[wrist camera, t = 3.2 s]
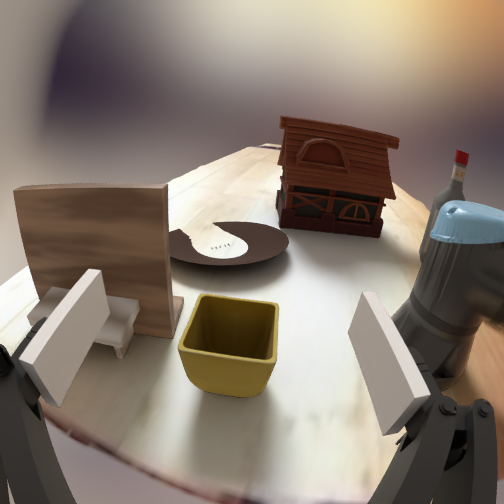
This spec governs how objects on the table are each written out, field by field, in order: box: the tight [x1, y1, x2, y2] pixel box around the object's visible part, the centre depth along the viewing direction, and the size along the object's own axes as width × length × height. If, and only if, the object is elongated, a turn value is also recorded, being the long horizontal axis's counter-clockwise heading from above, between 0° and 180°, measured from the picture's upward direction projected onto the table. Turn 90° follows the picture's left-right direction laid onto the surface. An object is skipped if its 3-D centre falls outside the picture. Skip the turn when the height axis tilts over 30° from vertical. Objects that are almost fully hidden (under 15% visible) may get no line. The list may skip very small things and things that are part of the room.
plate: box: [169, 222, 289, 265], centre depth 61 cm, size 28×28×4 cm
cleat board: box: [13, 183, 184, 359], centre depth 31 cm, size 15×22×20 cm
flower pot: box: [178, 294, 279, 398], centre depth 29 cm, size 9×9×9 cm
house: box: [276, 116, 399, 238], centre depth 77 cm, size 35×28×29 cm
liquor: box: [419, 150, 469, 263], centre depth 58 cm, size 9×9×30 cm
